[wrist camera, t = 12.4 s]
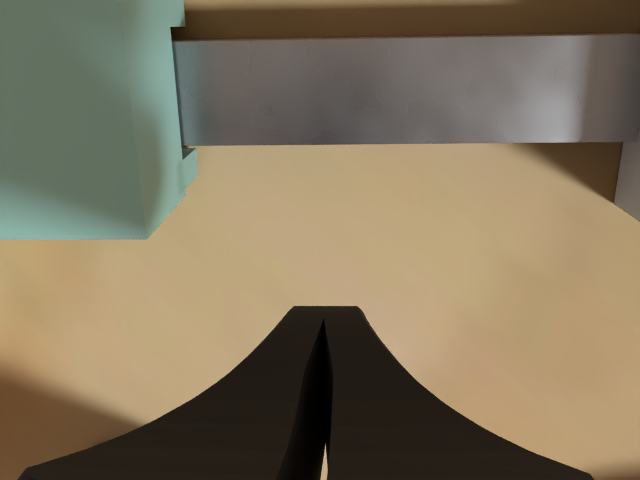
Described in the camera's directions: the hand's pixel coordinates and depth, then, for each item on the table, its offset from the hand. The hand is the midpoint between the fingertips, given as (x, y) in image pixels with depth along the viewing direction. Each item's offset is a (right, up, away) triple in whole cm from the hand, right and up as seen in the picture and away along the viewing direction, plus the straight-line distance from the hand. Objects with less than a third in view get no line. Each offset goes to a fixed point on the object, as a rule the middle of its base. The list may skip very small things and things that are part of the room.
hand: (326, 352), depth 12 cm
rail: (-2, +7, +8) cm, 11 cm away
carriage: (-7, +7, +8) cm, 13 cm away
